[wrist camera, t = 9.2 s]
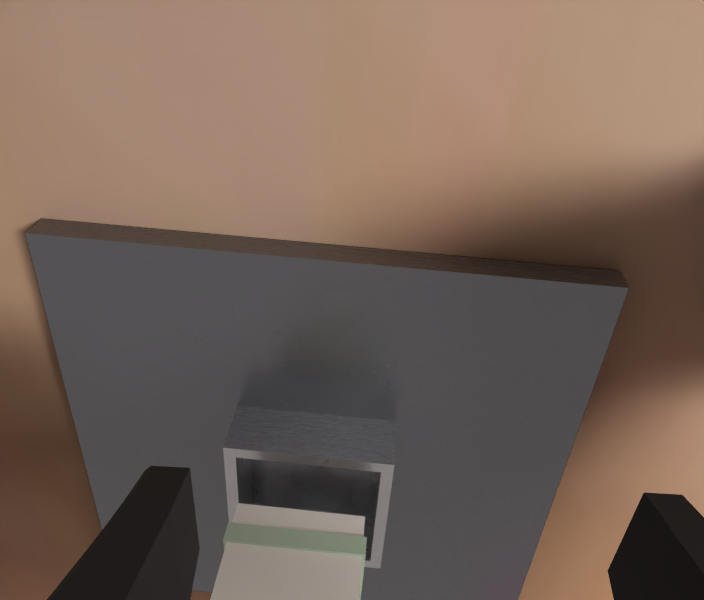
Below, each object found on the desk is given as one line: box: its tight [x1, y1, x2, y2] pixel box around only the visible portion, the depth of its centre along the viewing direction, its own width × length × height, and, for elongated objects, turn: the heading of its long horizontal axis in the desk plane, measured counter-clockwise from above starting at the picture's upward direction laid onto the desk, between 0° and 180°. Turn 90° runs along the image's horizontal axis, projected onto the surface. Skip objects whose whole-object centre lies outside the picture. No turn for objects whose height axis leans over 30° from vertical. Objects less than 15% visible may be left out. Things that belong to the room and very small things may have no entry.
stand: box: [25, 219, 629, 600], centre depth 23 cm, size 18×18×4 cm
